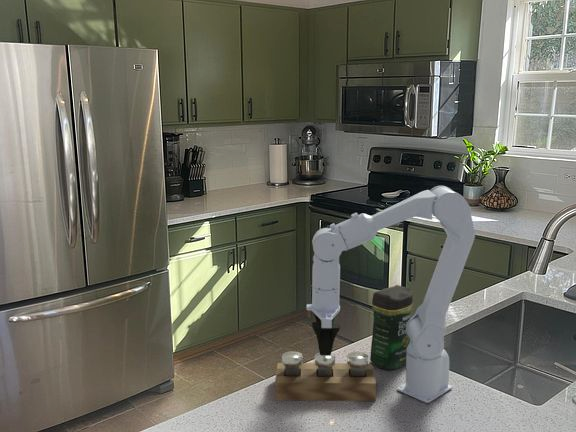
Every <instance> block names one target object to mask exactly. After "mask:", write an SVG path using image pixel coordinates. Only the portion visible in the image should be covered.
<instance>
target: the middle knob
mask: <svg viewBox="0 0 576 432" xmlns="http://www.w3.org/2000/svg"><path fill="white" fill-rule="evenodd" d="M314 363H315V365H316V366H318V377H332V366H334V365H335V363H336V355H335V353H333V352H331V355H330V356H321V355H320V352H319V351H318V352H316V353H315V354H314Z"/></svg>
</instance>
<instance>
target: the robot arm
mask: <svg viewBox="0 0 576 432" xmlns="http://www.w3.org/2000/svg"><path fill="white" fill-rule="evenodd" d="M350 216H351V218H348V219H346V220H344V221H341V222H339V223H337V224H335V223H334V222H333V223H332V224H330V225H329V227H323V228H320V229H318V230H317V231H316V232H315V234H314V235H313V238H312V240H311V243H312V249H313V252H314V253H313V256H312V261H313V263H312V271H311V272H312V273H311V274H312V275H311V277H312V281H311V282H312V283H311V285H312V287H311V290H312V291H311V292H312V293H311V295H312V296H311V304H309V303H307V304H306V311H311V312H312V314H313V315H314V318H315V321H313V322H312V323H311V324H312V330H313V332H314V334H315V336H316V340H317V343H318V344H317V345H318V350H319V351H318V352H320V355H321V356H330V355H331V353H333V347H334V343H335V339H336V337H337V334H338V333H339V332H340V329H341V324H340V323H334V320H335V317H336V316H337V315H338V314H339V313H340V311H341V305H340V287H341V286H340V283H341V264H340V256H341V255H342V252H344V251H345V252H347V251H349V250H350V249H351V250H352V249H353V248H356V247H358V246H360V245H363V244H365V243H368V242H370V241H372V240H375V239H376V235H377V233H379V231H380V230H383V229H386V228H389V227H391V226H394V225H396V224H399V223H402V222H404V221H407V220H409V219H412V218H421V219H426V220H430V221H431V220H433V216H434V217H435V218H436V220H438V221H439V222H440V225H441V227H442V229H443V230H444V232H445V233H446V239H445V241H444V244H443V247H442V249H441V252H440V254H439V258H438V260H437V263H436V265H435V266H436V267H435V268H434V272H433V274H432V277H431V279H430V283H429V285H428V287H427V291H426V293H425V296H424V298H423V300H422V304H420V305H419V306H418V307H417V309H416V310H415V313H414V315H413V316H412V317H410V320H409V321H408V323H407V325H406V333H407V335H408V336H409V338H410V343H409V345H408V346H407V353H406V365H405V382H404V383H403V384H401V385H399V386H398V387H396V390H397V391H399V392H400V393H403V394H404V395H407V396H410V397H412V398H415V399H416V400H419V401H421V402H423V403H426V404H429V403H431V402H432V401H434V400H435V399H437V398H439V397H440V396H442V395H443V394H445V393H446V392H449V390H451V389H453V385H451V384H449V379H450V357H449V354H448V353H447V351H446V349H444V348H445V340H444V336H445V334H446V330H447V329H446V327H447V325H446V324H447V323H446V316H447V312H448V310H449V308H450V305H451V302H452V299H453V297H454V294H455V292H456V289H457V286H458V285H459V280H460V279H461V275H462V273H463V270H464V269H465V266H466V262H467V259H468V258H469V255H470V252H471V250H472V246H473V244H474V241H475V238H476V232H475V228H474V222H473V217H472V207H471V206H470V204H469V203H468V202H467V200H466V198H464V196H463V195H462V194H460V193H459V192H456V191H454V190H453V189H451V188H450V187H448V186H445V185H437V186H434V187H432V188H431V189H430V190H429V189H426V190H423V191H420V192H418V193H416V194H414V195H412V196H409V197H408V198H406V199H403V200H402V201H400V202H397V203H396V204H393V205H391V206H389V207H387V208H385V209H383V210H380V211H379V212H376V213H374V214H372V215H369V214H367V213H363V212H362V213H360V214H358V212H354V213H352V214H351V215H350Z"/></svg>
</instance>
